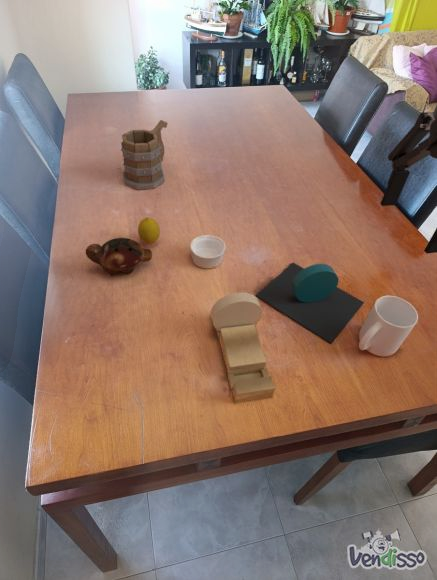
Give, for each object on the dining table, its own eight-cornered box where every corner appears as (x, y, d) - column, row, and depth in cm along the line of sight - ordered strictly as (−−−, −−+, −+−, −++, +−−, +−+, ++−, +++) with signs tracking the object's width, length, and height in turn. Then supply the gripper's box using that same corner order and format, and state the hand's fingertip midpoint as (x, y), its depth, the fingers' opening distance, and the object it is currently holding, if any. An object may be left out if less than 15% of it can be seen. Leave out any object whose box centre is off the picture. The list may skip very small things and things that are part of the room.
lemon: (135, 241, 99) (132, 216, 93) (153, 234, 102) (151, 209, 96) (147, 252, 96) (144, 227, 90) (164, 244, 99) (163, 219, 93)
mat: (363, 303, 88) (364, 302, 88) (330, 344, 79) (331, 343, 79) (292, 263, 96) (292, 262, 96) (255, 296, 88) (255, 295, 87)
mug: (367, 372, 75) (387, 342, 67) (337, 343, 80) (353, 312, 72) (405, 346, 80) (427, 316, 72) (374, 321, 84) (392, 289, 77)
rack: (271, 401, 70) (276, 387, 66) (233, 407, 68) (235, 394, 65) (245, 318, 83) (248, 303, 79) (212, 322, 82) (214, 307, 78)
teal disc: (331, 299, 88) (344, 268, 80) (291, 304, 86) (300, 273, 79) (327, 292, 89) (339, 261, 82) (288, 297, 88) (296, 266, 80)
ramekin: (231, 256, 97) (232, 243, 94) (211, 275, 92) (212, 262, 89) (203, 243, 100) (204, 230, 97) (183, 260, 95) (182, 247, 92)
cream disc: (258, 330, 78) (265, 298, 71) (211, 336, 76) (214, 304, 69) (255, 321, 80) (262, 289, 72) (209, 327, 78) (211, 295, 71)
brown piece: (86, 261, 93) (81, 234, 87) (146, 252, 98) (146, 226, 92) (91, 286, 86) (87, 259, 81) (156, 276, 91) (156, 249, 86)
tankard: (146, 194, 115) (142, 147, 104) (115, 181, 119) (108, 134, 108) (184, 168, 127) (184, 124, 116) (155, 157, 131) (151, 113, 120)
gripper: (398, 64, 56) (354, 189, 71) (526, 132, 39) (433, 278, 54) (441, 64, 58) (389, 187, 73) (582, 129, 41) (477, 272, 56)
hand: (408, 226), depth 64 cm, fingers open, 13 cm apart
